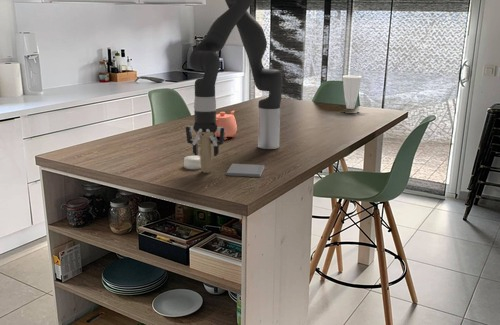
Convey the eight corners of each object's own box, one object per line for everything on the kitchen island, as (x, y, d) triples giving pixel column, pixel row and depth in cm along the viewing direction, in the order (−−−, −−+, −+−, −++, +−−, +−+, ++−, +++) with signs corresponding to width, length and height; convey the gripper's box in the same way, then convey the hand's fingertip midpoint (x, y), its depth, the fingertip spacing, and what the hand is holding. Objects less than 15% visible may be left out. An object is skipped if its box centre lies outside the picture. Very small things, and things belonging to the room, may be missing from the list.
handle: (200, 169, 188) (200, 128, 184) (216, 171, 186) (216, 130, 182) (195, 172, 183) (194, 131, 179) (211, 174, 181) (211, 133, 177)
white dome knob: (187, 164, 195) (187, 155, 194) (205, 165, 194) (205, 156, 193) (182, 169, 188) (182, 159, 187) (200, 170, 187) (200, 160, 186)
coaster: (232, 166, 192) (232, 163, 192) (264, 167, 190) (264, 165, 190) (226, 175, 180) (226, 172, 180) (260, 177, 179) (260, 174, 179)
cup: (355, 114, 304) (357, 77, 298) (337, 112, 310) (339, 76, 304) (362, 111, 313) (364, 76, 307) (344, 109, 319) (346, 74, 313)
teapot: (223, 142, 229) (222, 116, 226) (200, 139, 235) (200, 113, 232) (244, 134, 246) (244, 109, 243) (223, 132, 252) (223, 107, 249)
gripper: (227, 107, 181) (227, 153, 185) (187, 106, 183) (188, 152, 187) (223, 111, 174) (223, 159, 178) (182, 110, 176) (183, 157, 180)
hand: (205, 155), depth 183 cm, fingers open, 6 cm apart
